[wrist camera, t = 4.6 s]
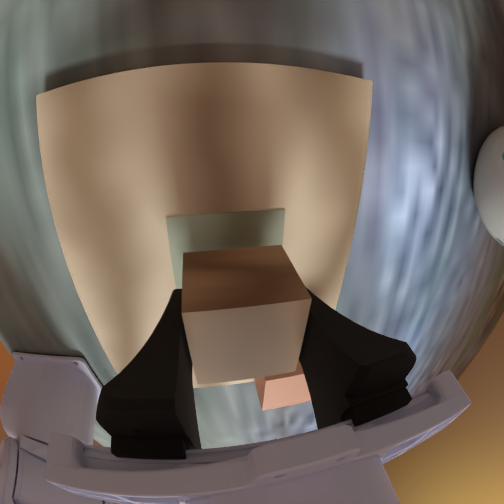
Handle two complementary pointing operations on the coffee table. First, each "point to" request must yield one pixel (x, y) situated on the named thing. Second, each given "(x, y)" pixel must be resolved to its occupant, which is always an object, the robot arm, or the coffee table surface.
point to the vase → (491, 184)
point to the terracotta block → (282, 389)
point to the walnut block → (243, 313)
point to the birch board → (199, 180)
